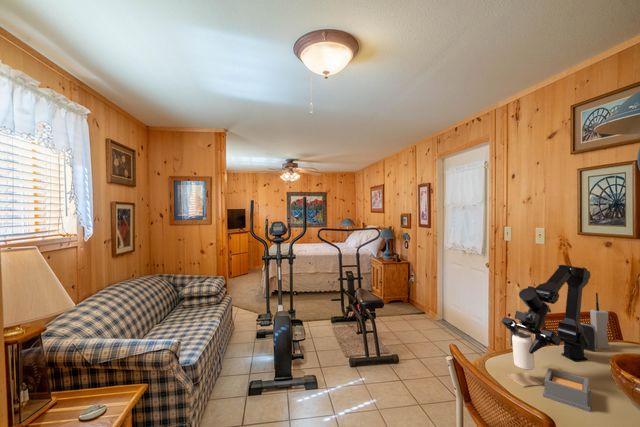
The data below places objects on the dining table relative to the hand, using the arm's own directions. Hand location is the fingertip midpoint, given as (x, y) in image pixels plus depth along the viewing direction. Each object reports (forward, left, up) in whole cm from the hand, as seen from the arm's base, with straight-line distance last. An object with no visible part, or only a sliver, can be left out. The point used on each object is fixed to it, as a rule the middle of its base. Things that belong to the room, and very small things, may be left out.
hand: (520, 349), depth 109 cm
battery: (-48, -17, -12) cm, 52 cm away
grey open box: (-8, +11, -12) cm, 18 cm away
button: (-8, +11, -11) cm, 17 cm away
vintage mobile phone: (-56, -17, -12) cm, 60 cm away
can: (-1, 0, -7) cm, 7 cm away
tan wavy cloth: (-1, 0, -12) cm, 12 cm away
